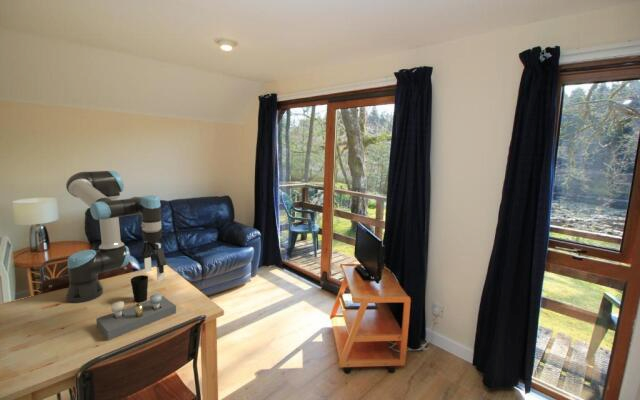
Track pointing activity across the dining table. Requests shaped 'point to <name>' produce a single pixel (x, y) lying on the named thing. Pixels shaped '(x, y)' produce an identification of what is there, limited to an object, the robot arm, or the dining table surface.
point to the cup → (140, 288)
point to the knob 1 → (117, 309)
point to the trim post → (138, 310)
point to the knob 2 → (156, 301)
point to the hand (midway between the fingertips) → (154, 275)
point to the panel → (134, 318)
